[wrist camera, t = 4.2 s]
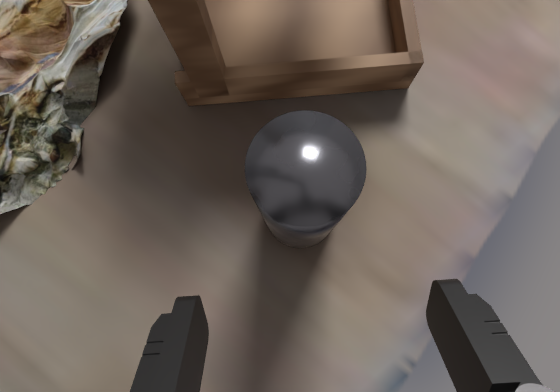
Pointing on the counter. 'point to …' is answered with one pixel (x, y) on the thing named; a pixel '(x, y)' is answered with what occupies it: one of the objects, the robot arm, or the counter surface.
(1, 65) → the rock
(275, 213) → the cylinder
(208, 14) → the stand
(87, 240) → the counter surface
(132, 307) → the counter surface
